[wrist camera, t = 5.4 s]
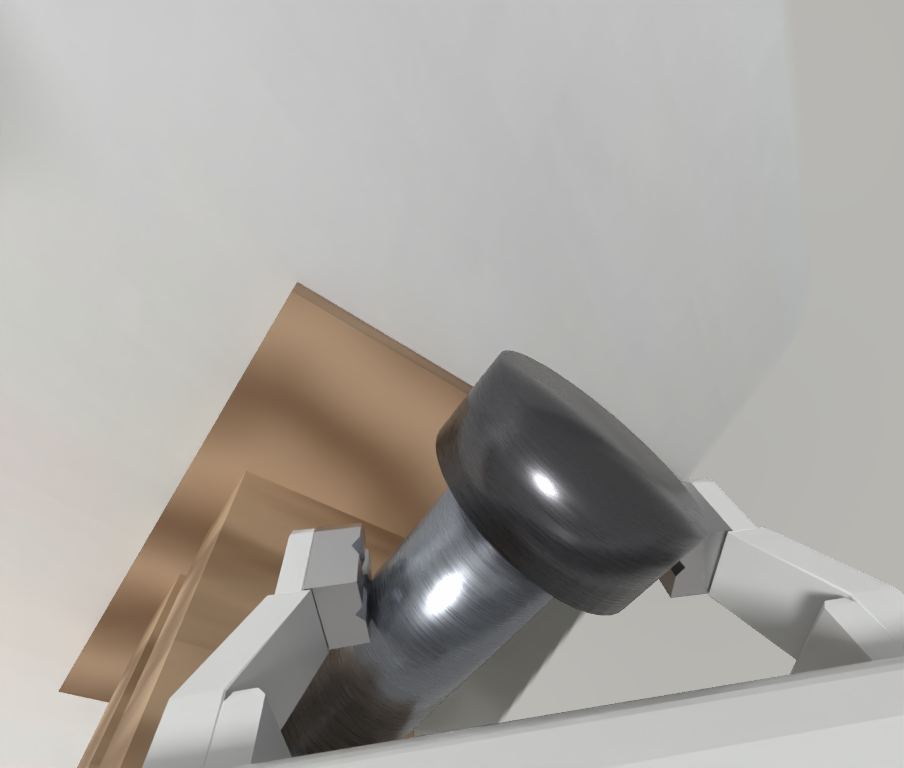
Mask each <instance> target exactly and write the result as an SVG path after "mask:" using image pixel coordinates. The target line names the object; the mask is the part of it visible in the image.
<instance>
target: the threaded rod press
mask: <svg viewBox="0 0 904 768" xmlns="http://www.w3.org/2000/svg"><path fill="white" fill-rule="evenodd" d="M472 388H473V387H472V386H471V385H469V384H467V383H466V382H464V381H462V380H461V379H459V378H457V377H456V376H454V375H452V374H451V373H449V372H447V371H446V370H444V369H442V368H441V367H439V366H437V365H435V364H434V363H432V362H430V361H429V360H427V359H425V358H424V357H422V356H420V355H419V354H417V353H415V352H414V351H412V350H410V349H409V348H407V347H405V346H404V345H402V344H400V343H399V342H397V341H395V340H394V339H392V338H390V337H389V336H387V335H385V334H384V333H382V332H380V331H378V330H377V329H375V328H373V327H372V326H370V325H368V324H367V323H365V322H363V321H362V320H360V319H358V318H357V317H355V316H353V315H352V314H350V313H348V312H347V311H345V310H343V309H342V308H340V307H338V306H337V305H335V304H333V303H332V302H330V301H328V300H327V299H325V298H323V297H322V296H320V295H318V294H316V293H315V292H313V291H311V290H310V289H308V288H306V287H305V286H303V285H301V284H300V283H298V282H297V284H296V285H295V287H294V289H293V290H292V292H291V294H290V295H289V297H288V299H287V300H286V302H285V304H284V306H283V307H282V309H281V311H280V312H279V314H278V316H277V318H276V319H275V321H274V323H273V324H272V326H271V328H270V330H269V331H268V333H267V335H266V337H265V338H264V340H263V342H262V343H261V345H260V347H259V349H258V350H257V352H256V354H255V355H254V357H253V359H252V361H251V362H250V364H249V366H248V367H247V369H246V371H245V373H244V374H243V376H242V378H241V379H240V381H239V383H238V385H237V386H236V388H235V390H234V391H233V393H232V395H231V397H230V398H229V400H228V402H227V403H226V405H225V407H224V409H223V410H222V412H221V414H220V415H219V417H218V419H217V421H216V422H215V424H214V426H213V427H212V429H211V431H210V433H209V434H208V436H207V438H206V439H205V441H204V443H203V445H202V446H201V448H200V450H199V451H198V453H197V455H196V457H195V458H194V460H193V462H192V463H191V465H190V467H189V469H188V470H187V472H186V474H185V475H184V477H183V479H182V481H181V482H180V484H179V486H178V487H177V489H176V491H175V493H174V494H173V496H172V498H171V499H170V501H169V503H168V505H167V506H166V508H165V510H164V511H163V513H162V515H161V517H160V518H159V520H158V522H157V523H156V525H155V527H154V529H153V530H152V532H151V534H150V535H149V537H148V539H147V541H146V542H145V544H144V546H143V547H142V549H141V551H140V553H139V554H138V556H137V558H136V559H135V561H134V563H133V565H132V566H131V568H130V570H129V571H128V573H127V575H126V577H125V578H124V580H123V582H122V583H121V585H120V587H119V589H118V590H117V592H116V594H115V595H114V597H113V599H112V601H111V602H110V604H109V606H108V607H107V609H106V611H105V613H104V614H103V616H102V618H101V619H100V621H99V623H98V625H97V626H96V628H95V630H94V631H93V633H92V635H91V637H90V638H89V640H88V642H87V643H86V645H85V647H84V649H83V650H82V652H81V654H80V655H79V657H78V659H77V661H76V662H75V664H74V666H73V667H72V669H71V671H70V673H69V674H68V676H67V678H66V679H65V681H64V683H63V685H62V686H61V688H60V690H59V691H58V692H63V693H68V694H72V695H77V696H82V697H86V698H91V699H96V700H100V701H105V702H109V704H108V706H107V708H106V710H105V712H104V714H103V716H102V718H101V720H100V722H99V724H98V726H97V728H96V730H95V733H94V735H93V737H92V739H91V741H90V743H89V745H88V747H87V749H86V751H85V753H84V755H83V757H82V759H81V761H80V763H79V765H78V767H77V768H142V766H143V764H144V761H145V759H146V756H147V754H148V751H149V749H150V746H151V744H152V741H153V738H154V736H155V733H156V731H157V728H158V726H159V723H160V721H161V718H162V716H163V713H164V710H165V708H166V705H167V703H168V700H169V698H170V697H171V696H172V695H173V694H174V693H175V692H176V691H177V690H178V689H179V688H180V687H181V686H182V685H183V684H184V683H185V682H186V681H187V679H188V678H189V677H190V676H191V675H192V674H193V673H194V672H195V671H196V670H197V669H198V668H199V667H200V666H201V665H202V664H203V663H204V662H205V661H206V659H207V658H208V657H209V656H210V655H211V654H212V653H213V652H214V651H215V650H216V649H217V648H218V647H219V646H220V645H221V644H222V643H223V642H224V641H225V639H226V638H227V637H228V636H229V635H230V634H231V633H232V632H233V631H234V630H235V629H236V628H237V627H238V626H239V625H240V624H241V623H242V622H243V621H244V620H245V618H246V617H247V616H248V615H249V614H250V613H251V612H252V611H253V610H254V609H255V608H256V607H257V606H258V605H259V604H260V603H261V602H262V601H263V600H264V598H265V597H266V596H268V595H274V594H275V591H276V587H277V583H278V579H279V575H280V571H281V567H282V563H283V559H284V555H285V551H286V547H287V543H288V539H289V536H290V534H291V533H292V531H293V530H303V529H313V528H317V527H327V526H336V525H346V524H355V523H363V525H364V529H365V533H366V547H365V548H366V549H368V550H369V554H370V560H371V568H372V577H373V576H374V574H375V573H376V572H377V571H378V570H379V568H380V567H381V566H382V565H383V564H384V563H385V561H386V560H387V559H388V558H389V557H390V555H391V554H392V553H393V552H394V551H395V550H396V548H397V547H398V546H399V545H400V544H401V543H402V541H403V540H404V539H405V538H406V537H407V535H408V534H409V533H410V532H411V531H412V530H413V528H414V527H415V526H416V525H417V524H418V523H419V521H420V520H421V519H422V518H423V517H424V515H425V514H426V513H427V512H428V511H429V510H430V508H431V507H432V506H433V505H434V504H435V503H436V501H437V500H438V499H439V498H440V497H441V495H442V494H443V493H444V492H445V491H446V490H447V488H448V485H447V483H446V481H445V479H444V477H443V474H442V472H441V469H440V466H439V463H438V459H437V455H436V437H437V434H438V432H439V430H440V429H441V427H442V426H443V425H444V424H445V422H446V421H447V420H448V419H449V417H450V416H451V415H452V414H453V412H454V411H455V410H456V409H457V407H458V406H459V405H460V404H461V402H462V401H463V400H464V399H465V397H466V396H467V395H468V394H469V392H470V391H471V390H472ZM412 737H414V731H413V729H412V730H411V731H410V732H409V733H408V734H407V735H406V736H405V737H404V738H403V739H406V738H412Z"/></svg>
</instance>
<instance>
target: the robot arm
mask: <svg viewBox="0 0 904 768" xmlns="http://www.w3.org/2000/svg"><path fill="white" fill-rule="evenodd" d="M681 483H682V484H683V485H684V486H685V488H686V489H687V490H688V491H689V492H690V494H691V495H692V496H693V498H694V499H695V500H696V502H697V503H698V505H699V506H700V508H701V509H702V511H703V513H704V514H705V516H706V518H707V520H708V523H709V525H710V534H709V536H708V537H706V538H705V539H704V540H703V541H702V542H701V543H699V544H698V545H697V546H696V547H695V548H694V549H693V550H691V551H690V552H689V553H688V554H687V555H686V556H684V557H683V558H682V559H681V560H680V561H679V562H677V563H676V564H675V565H674V566H673V567H672V568H670V569H669V570H668V571H667V572H666V573H665V574H664V575H662V576H661V577H660V578H659V580H660V581H661V583H662V585H663V586H664V588H665V589H666V591H667V593H668V594H669V596H670V597H671V598H673V597H681V596H690V595H698V594H707V593H709V596H710V597H712V598H713V599H714V600H716V601H717V602H718V603H720V604H721V605H722V606H724V607H725V608H727V609H728V610H729V611H731V612H732V613H733V614H735V615H736V616H737V617H739V618H740V619H741V620H743V621H744V622H746V623H747V624H748V625H750V626H751V627H752V628H754V629H755V630H756V631H758V632H759V633H761V634H762V635H764V636H765V637H766V638H767V639H769V640H770V641H771V642H773V643H774V644H776V645H777V646H778V647H780V648H781V649H782V650H784V651H785V652H786V653H788V654H790V655H791V656H792V657H793V658H795V659H796V660H797V661H796V663H795V665H794V667H793V669H792V671H791V673H790V675H784V676H778V677H772V678H766V679H760V680H754V681H749V682H742V683H736V684H730V685H724V686H719V687H712V688H706V689H700V690H694V691H688V692H682V693H677V694H670V695H664V696H658V697H653V698H647V699H640V700H634V701H628V702H622V703H617V704H610V705H604V706H598V707H592V708H586V709H580V710H574V711H568V712H562V713H556V714H550V715H545V716H539V717H533V718H526V719H521V720H514V721H509V722H502V723H496V724H490V725H484V726H478V727H472V728H466V729H460V730H454V731H448V732H442V733H436V734H430V735H424V736H418V737H412V738H406V739H400V740H394V741H388V742H382V743H376V744H370V745H364V746H358V747H352V748H346V749H340V750H334V751H328V752H322V753H315V754H309V755H303V756H297V757H291V755H290V752H289V750H288V747H287V745H286V743H285V740H284V738H283V735H282V733H281V729H282V727H283V726H284V724H285V723H286V721H287V719H288V718H289V716H290V715H291V713H292V711H293V710H294V708H295V706H296V705H297V703H298V702H299V700H300V698H301V697H302V695H303V693H304V692H305V690H306V689H307V687H308V685H309V684H310V682H311V681H312V679H313V677H314V676H315V674H316V672H317V671H318V669H319V668H320V666H321V664H322V663H323V661H324V659H325V658H326V656H327V655H328V653H329V652H328V650H330V649H336V648H342V647H347V646H353V645H358V644H364V643H370V632H371V609H370V604H369V599H368V597H369V594H370V592H371V585H372V568H371V560H370V554H369V550H368V549H366V548H365V547H366V533H365V529H364V525H363V523H355V524H346V525H336V526H327V527H317V528H313V529H303V530H293V531H292V533H291V534H290V536H289V539H288V543H287V547H286V551H285V555H284V559H283V563H282V567H281V571H280V575H279V579H278V583H277V587H276V591H275V594H274V595H268V596H266V597H265V598H264V600H263V601H262V602H261V603H260V604H259V605H258V606H257V607H256V608H255V609H254V610H253V611H252V612H251V613H250V614H249V615H248V616H247V617H246V618H245V620H244V621H243V622H242V623H241V624H240V625H239V626H238V627H237V628H236V629H235V630H234V631H233V632H232V633H231V634H230V635H229V636H228V637H227V638H226V639H225V641H224V642H223V643H222V644H221V645H220V646H219V647H218V648H217V649H216V650H215V651H214V652H213V653H212V654H211V655H210V656H209V657H208V658H207V659H206V661H205V662H204V663H203V664H202V665H201V666H200V667H199V668H198V669H197V670H196V671H195V672H194V673H193V674H192V675H191V676H190V677H189V678H188V679H187V681H186V682H185V683H184V684H183V685H182V686H181V687H180V688H179V689H178V690H177V691H176V692H175V693H174V694H173V695H172V696H171V697H170V698H169V700H168V703H167V705H166V708H165V710H164V713H163V716H162V718H161V721H160V723H159V726H158V728H157V731H156V733H155V736H154V738H153V741H152V744H151V746H150V749H149V751H148V754H147V756H146V759H145V761H144V764H143V766H142V768H904V595H903V594H902V593H901V592H899V590H897V589H896V588H894V587H892V586H890V585H888V584H886V583H884V582H882V581H879V580H877V579H875V578H873V577H871V576H869V575H866V574H864V573H862V572H860V571H858V570H856V569H853V568H851V567H849V566H847V565H845V564H843V563H841V562H839V561H836V560H834V559H832V558H830V557H828V556H826V555H823V554H821V553H819V552H817V551H815V550H813V549H811V548H809V547H806V546H804V545H802V544H800V543H798V542H796V541H793V540H791V539H789V538H787V537H785V536H783V535H781V534H778V533H776V532H774V531H772V530H770V529H768V528H766V527H760V528H757V527H756V525H754V523H753V522H752V521H751V520H750V519H749V518H748V517H747V516H746V515H745V514H744V513H743V512H742V511H741V510H740V509H739V508H738V507H737V506H736V505H735V504H734V503H733V501H732V500H731V499H730V498H728V496H727V495H726V494H725V493H724V492H723V491H722V490H721V489H720V488H719V487H718V486H717V485H716V484H715V483H714V482H713V481H712V480H710V479H708V478H701V479H694V480H687V481H681Z"/></svg>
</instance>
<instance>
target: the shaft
mask: <svg viewBox="0 0 904 768" xmlns="http://www.w3.org/2000/svg"><path fill="white" fill-rule="evenodd" d="M436 455H437V459H438V463H439V466H440V469H441V472H442V474H443V477H444V479H445V481H446V483H447V485H448V488H447V490H446V491H445V492H444V493H443V494H442V495H441V497H440V498H439V499H438V500H437V501H436V503H435V504H434V505H433V506H432V507H431V508H430V510H429V511H428V512H427V513H426V514H425V515H424V517H423V518H422V519H421V520H420V521H419V523H418V524H417V525H416V526H415V527H414V528H413V530H412V531H411V532H410V533H409V534H408V535H407V537H406V538H405V539H404V540H403V541H402V543H401V544H400V545H399V546H398V547H397V548H396V550H395V551H394V552H393V553H392V554H391V555H390V557H389V558H388V559H387V560H386V561H385V563H384V564H383V565H382V566H381V567H380V568H379V570H378V571H377V572H376V573H375V574H374V576H373V577H372V585H371V592H370V594H369V597H368V599H369V604H370V609H371V632H370V643H364V644H358V645H353V646H347V647H342V648H336V649H330V650H328V652H329V653H328V655H327V656H326V658H325V659H324V661H323V663H322V664H321V666H320V668H319V669H318V671H317V672H316V674H315V676H314V677H313V679H312V681H311V682H310V684H309V685H308V687H307V689H306V690H305V692H304V693H303V695H302V697H301V698H300V700H299V702H298V703H297V705H296V706H295V708H294V710H293V711H292V713H291V715H290V716H289V718H288V719H287V721H286V723H285V724H284V726H283V727H282V729H281V733H282V735H283V738H284V740H285V743H286V745H287V747H288V750H289V752H290V755H291V757H297V756H303V755H309V754H315V753H322V752H328V751H334V750H340V749H346V748H352V747H358V746H364V745H370V744H376V743H382V742H388V741H394V740H400V739H403V738H404V737H405V736H406V735H407V734H408V733H409V732H410V731H411V730H412V729H414V728H415V727H416V726H417V725H418V724H419V723H420V722H421V721H422V720H423V719H424V718H425V717H426V716H427V715H428V714H430V713H431V712H432V711H433V710H434V709H435V708H436V707H437V706H438V705H439V704H440V703H441V702H442V701H443V700H444V699H446V698H447V697H448V696H449V695H450V694H451V693H452V692H453V691H454V690H455V689H456V688H457V687H458V686H459V685H461V684H462V683H463V682H464V681H465V680H466V679H467V678H468V677H469V676H470V675H471V674H472V673H473V672H474V671H475V670H477V669H478V668H479V667H480V666H481V665H482V664H483V663H484V662H485V661H486V660H487V659H488V658H489V657H490V656H491V655H493V654H494V653H495V652H496V651H497V650H498V649H499V648H500V647H501V646H502V645H503V644H504V643H505V642H506V641H508V640H509V639H510V638H511V637H512V636H513V635H514V634H515V633H516V632H517V631H518V630H519V629H520V628H521V627H522V626H524V625H525V624H526V623H527V622H528V621H529V620H530V619H531V618H532V617H533V616H534V615H535V614H536V613H537V612H538V611H540V610H541V609H542V608H543V607H544V606H545V605H546V604H547V603H548V602H549V601H550V600H551V599H552V598H553V597H555V598H556V599H558V600H560V601H562V602H564V603H566V604H568V605H570V606H572V607H574V608H576V609H579V610H582V611H585V612H587V613H591V614H596V615H613V614H616V613H619V612H620V611H621V610H622V609H624V608H625V607H626V606H627V605H629V604H630V603H631V602H632V601H633V600H635V599H636V598H637V597H638V596H639V595H640V594H641V593H643V592H644V591H645V590H646V589H647V588H648V587H650V586H651V585H652V584H653V583H654V582H655V581H657V580H658V579H659V578H660V577H661V576H662V575H664V574H665V573H666V572H667V571H668V570H669V569H670V568H672V567H673V566H674V565H675V564H676V563H677V562H679V561H680V560H681V559H682V558H683V557H684V556H686V555H687V554H688V553H689V552H690V551H691V550H693V549H694V548H695V547H696V546H697V545H698V544H699V543H701V542H702V541H703V540H704V539H705V538H706V537H708V536H709V534H710V525H709V523H708V520H707V518H706V516H705V514H704V513H703V511H702V509H701V508H700V506H699V505H698V503H697V502H696V500H695V499H694V498H693V496H692V495H691V494H690V492H689V491H688V490H687V489H686V488H685V486H684V485H683V484H682V483H681V482H680V480H679V479H678V478H677V477H676V476H675V475H674V474H673V472H672V471H671V470H670V469H669V468H668V467H667V466H666V465H665V464H664V463H663V462H662V461H661V460H660V459H659V458H658V457H657V456H656V455H655V454H654V453H653V452H652V451H651V450H650V449H649V448H648V447H647V446H646V445H645V444H644V443H643V442H642V441H641V440H640V439H639V438H638V437H637V436H636V435H635V434H633V433H632V432H631V431H630V430H629V429H628V428H627V427H626V426H625V425H623V424H622V423H621V422H620V421H619V420H618V419H617V418H615V417H614V416H613V415H612V414H611V413H609V412H608V411H607V410H606V409H605V408H603V407H602V406H601V405H600V404H598V403H597V402H596V401H595V400H593V399H592V398H591V397H590V396H588V395H587V394H586V393H584V392H583V391H582V390H580V389H579V388H578V387H576V386H575V385H573V384H572V383H571V382H569V381H568V380H566V379H565V378H563V377H562V376H561V375H559V374H557V373H556V372H554V371H553V370H551V369H550V368H548V367H546V366H545V365H543V364H541V363H539V362H537V361H536V360H534V359H532V358H530V357H528V356H525V355H523V354H520V353H518V352H514V351H507V350H506V351H502V352H501V353H500V355H499V356H498V357H497V358H496V360H495V361H494V362H493V363H492V365H491V366H490V367H489V368H488V370H487V371H486V372H485V373H484V375H483V376H482V377H481V378H480V380H479V381H478V382H477V383H476V385H475V386H474V387H473V388H472V390H471V391H470V392H469V394H468V395H467V396H466V397H465V399H464V400H463V401H462V402H461V404H460V405H459V406H458V407H457V409H456V410H455V411H454V412H453V414H452V415H451V416H450V417H449V419H448V420H447V421H446V422H445V424H444V425H443V426H442V427H441V429H440V430H439V432H438V434H437V437H436Z"/></svg>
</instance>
